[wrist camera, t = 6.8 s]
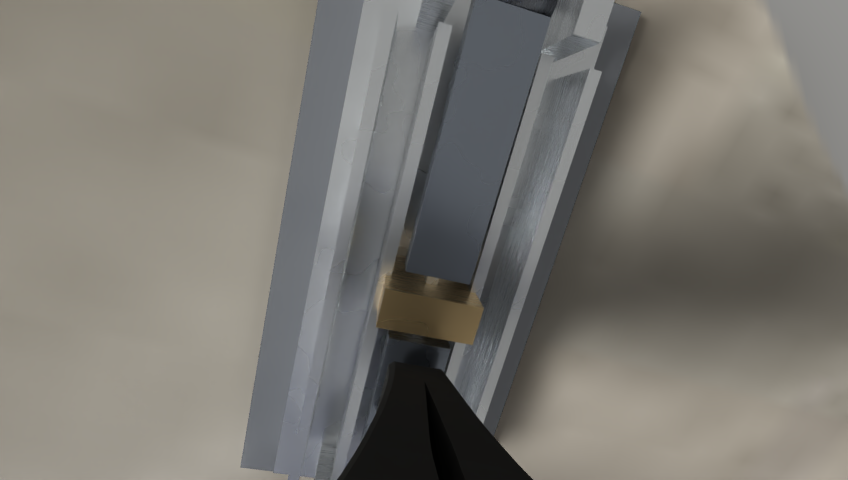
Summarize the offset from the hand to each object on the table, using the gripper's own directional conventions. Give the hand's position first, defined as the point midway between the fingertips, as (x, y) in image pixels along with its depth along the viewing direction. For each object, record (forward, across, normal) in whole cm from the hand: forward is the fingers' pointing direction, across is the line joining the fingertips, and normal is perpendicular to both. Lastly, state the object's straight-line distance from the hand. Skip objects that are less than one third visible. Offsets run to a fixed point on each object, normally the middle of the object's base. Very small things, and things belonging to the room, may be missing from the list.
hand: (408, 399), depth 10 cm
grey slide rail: (+4, 0, -2) cm, 4 cm away
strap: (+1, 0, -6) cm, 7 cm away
